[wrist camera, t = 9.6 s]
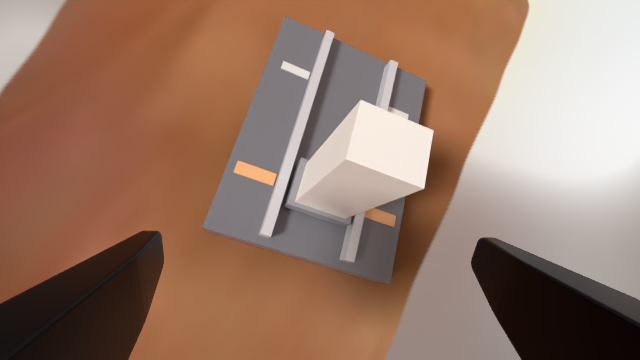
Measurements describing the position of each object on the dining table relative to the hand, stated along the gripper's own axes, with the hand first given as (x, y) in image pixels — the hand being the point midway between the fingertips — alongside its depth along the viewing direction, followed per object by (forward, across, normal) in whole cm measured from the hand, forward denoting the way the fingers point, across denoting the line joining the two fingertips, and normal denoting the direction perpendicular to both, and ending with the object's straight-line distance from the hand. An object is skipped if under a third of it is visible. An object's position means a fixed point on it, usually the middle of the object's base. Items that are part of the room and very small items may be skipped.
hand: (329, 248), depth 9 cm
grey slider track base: (+15, -2, +2) cm, 15 cm away
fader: (+11, -1, +3) cm, 11 cm away
